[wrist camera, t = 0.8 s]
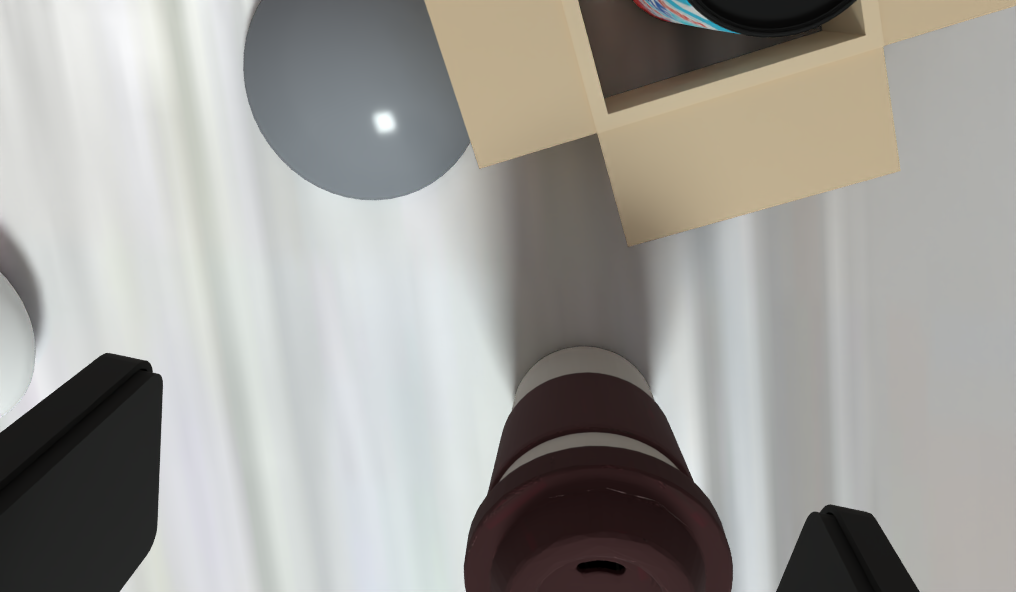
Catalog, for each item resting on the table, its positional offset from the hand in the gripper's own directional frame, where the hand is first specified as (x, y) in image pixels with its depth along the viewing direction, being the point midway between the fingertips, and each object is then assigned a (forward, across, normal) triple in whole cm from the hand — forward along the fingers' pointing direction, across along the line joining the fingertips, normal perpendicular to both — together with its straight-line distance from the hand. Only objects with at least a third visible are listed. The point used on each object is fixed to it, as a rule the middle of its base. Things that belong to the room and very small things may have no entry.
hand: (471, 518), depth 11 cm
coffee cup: (+28, -5, +12) cm, 31 cm away
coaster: (+27, +8, -2) cm, 28 cm away
